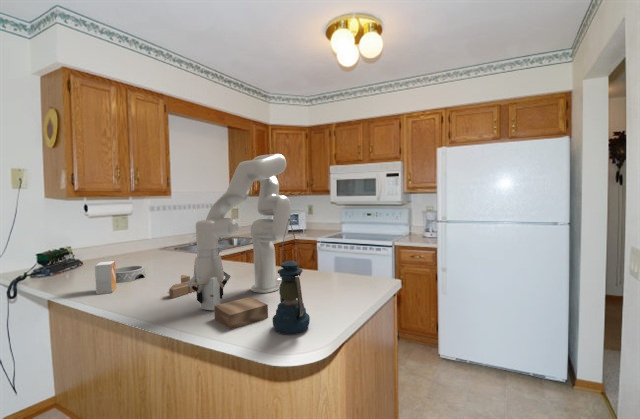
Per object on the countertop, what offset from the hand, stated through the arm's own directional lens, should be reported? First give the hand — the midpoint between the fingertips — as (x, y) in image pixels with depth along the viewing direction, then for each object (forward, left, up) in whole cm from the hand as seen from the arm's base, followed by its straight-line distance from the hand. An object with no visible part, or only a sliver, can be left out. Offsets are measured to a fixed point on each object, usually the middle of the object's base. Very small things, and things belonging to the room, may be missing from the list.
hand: (210, 299), depth 123 cm
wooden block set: (+4, -33, -4) cm, 34 cm away
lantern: (-15, +34, -4) cm, 37 cm away
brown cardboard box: (-6, +16, -4) cm, 18 cm away
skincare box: (0, 0, -3) cm, 3 cm away
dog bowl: (+21, -75, -4) cm, 78 cm away
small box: (+30, -54, -4) cm, 62 cm away
